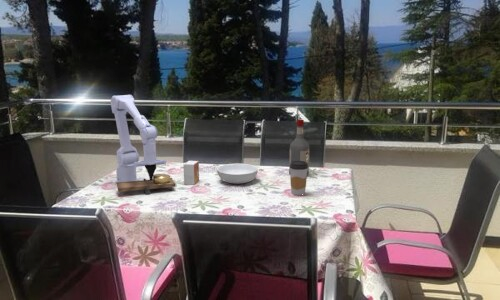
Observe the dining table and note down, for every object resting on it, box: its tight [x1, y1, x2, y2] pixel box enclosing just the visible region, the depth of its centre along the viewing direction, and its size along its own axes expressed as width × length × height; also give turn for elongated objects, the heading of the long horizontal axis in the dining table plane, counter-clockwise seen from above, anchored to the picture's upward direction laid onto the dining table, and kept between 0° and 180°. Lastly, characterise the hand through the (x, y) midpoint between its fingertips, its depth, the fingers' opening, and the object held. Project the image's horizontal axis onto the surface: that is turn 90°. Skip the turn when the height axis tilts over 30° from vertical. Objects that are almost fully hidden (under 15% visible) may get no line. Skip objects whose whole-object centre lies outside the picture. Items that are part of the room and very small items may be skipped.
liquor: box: [288, 119, 310, 175], centre depth 229 cm, size 9×9×30 cm
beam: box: [116, 177, 176, 192], centre depth 204 cm, size 26×10×2 cm, turn 110°
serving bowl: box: [216, 162, 259, 185], centre depth 220 cm, size 21×21×7 cm
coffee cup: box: [289, 161, 308, 196], centre depth 199 cm, size 8×8×15 cm
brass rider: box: [153, 173, 171, 184], centre depth 206 cm, size 8×8×3 cm
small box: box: [183, 160, 200, 186], centre depth 217 cm, size 8×6×10 cm
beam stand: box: [143, 178, 151, 196], centre depth 204 cm, size 2×12×4 cm, turn 20°
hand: (151, 180), depth 205 cm, fingers closed
